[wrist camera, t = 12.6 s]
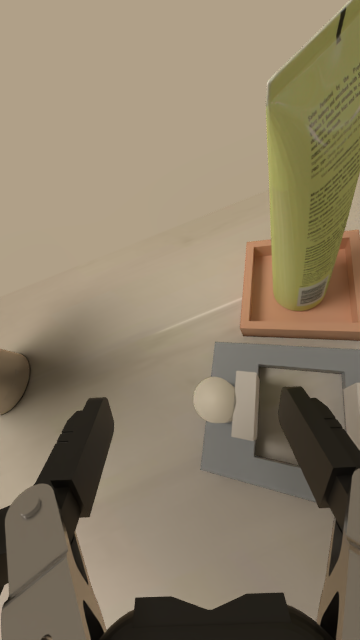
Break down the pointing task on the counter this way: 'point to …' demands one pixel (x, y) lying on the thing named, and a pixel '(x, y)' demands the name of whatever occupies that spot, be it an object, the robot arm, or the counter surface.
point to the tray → (316, 323)
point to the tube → (313, 157)
